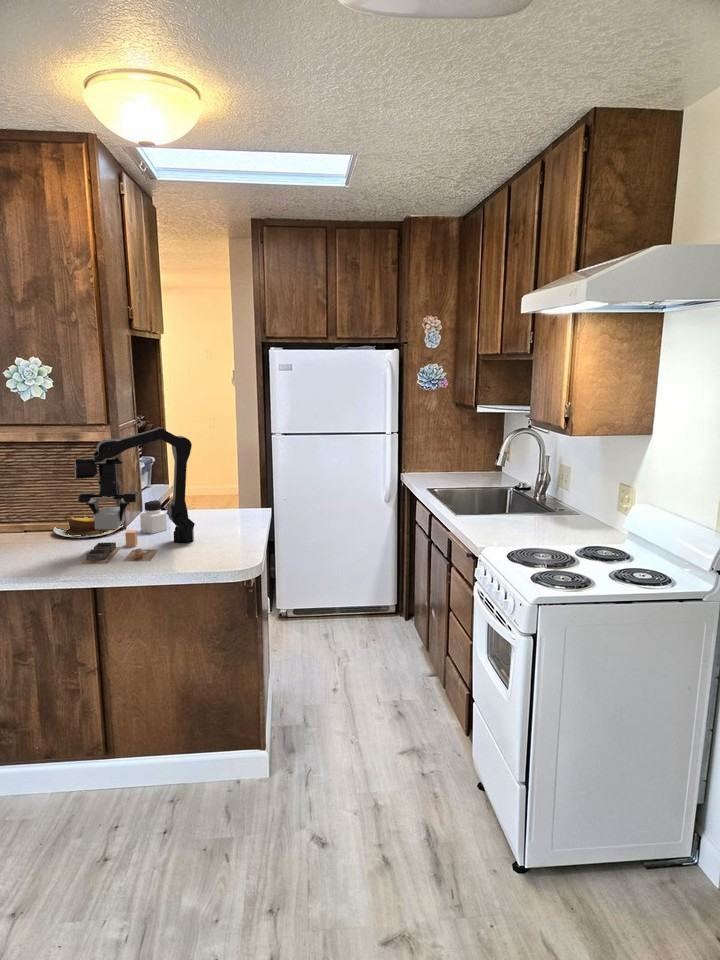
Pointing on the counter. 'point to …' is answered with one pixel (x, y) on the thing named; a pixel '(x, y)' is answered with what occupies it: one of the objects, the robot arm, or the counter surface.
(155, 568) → the counter surface
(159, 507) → the medicine bottle
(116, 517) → the housing
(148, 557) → the plate
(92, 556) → the socket board
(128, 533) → the tan rectangular block
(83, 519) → the food on plate
